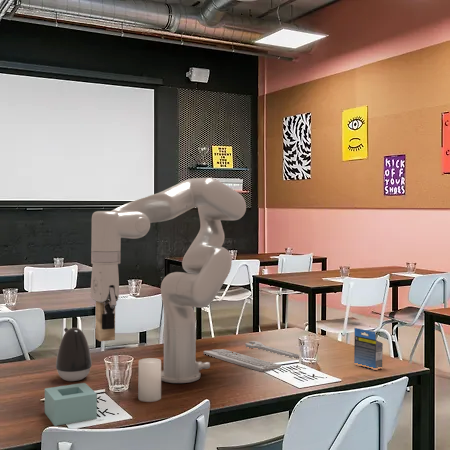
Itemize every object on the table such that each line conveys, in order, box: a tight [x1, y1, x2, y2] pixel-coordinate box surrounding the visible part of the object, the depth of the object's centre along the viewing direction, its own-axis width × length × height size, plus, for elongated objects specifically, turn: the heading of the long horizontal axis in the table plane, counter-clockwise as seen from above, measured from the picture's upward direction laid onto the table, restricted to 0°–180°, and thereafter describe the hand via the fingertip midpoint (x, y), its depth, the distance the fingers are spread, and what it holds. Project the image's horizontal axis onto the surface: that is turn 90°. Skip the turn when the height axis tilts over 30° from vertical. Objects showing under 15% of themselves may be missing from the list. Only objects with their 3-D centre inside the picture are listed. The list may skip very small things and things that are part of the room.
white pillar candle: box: [137, 357, 162, 403], centre depth 153 cm, size 6×6×10 cm
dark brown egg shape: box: [55, 327, 93, 382], centre depth 170 cm, size 10×10×15 cm
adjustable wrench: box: [244, 340, 300, 359], centre depth 205 cm, size 25×6×2 cm, turn 36°
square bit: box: [94, 300, 116, 342], centre depth 151 cm, size 4×4×10 cm
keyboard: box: [202, 348, 282, 373], centre depth 193 cm, size 29×10×2 cm, turn 41°
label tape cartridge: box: [353, 327, 384, 368], centre depth 186 cm, size 9×4×12 cm, turn 37°
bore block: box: [44, 382, 98, 427], centre depth 139 cm, size 10×10×6 cm
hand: (105, 326), depth 151 cm, fingers closed on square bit, 4 cm apart
